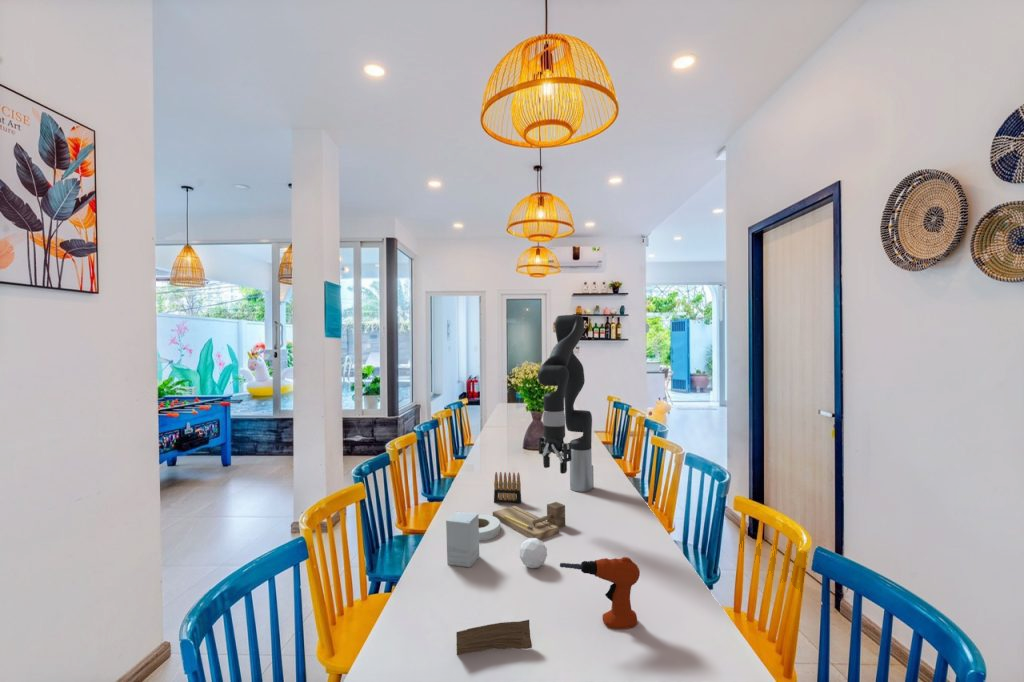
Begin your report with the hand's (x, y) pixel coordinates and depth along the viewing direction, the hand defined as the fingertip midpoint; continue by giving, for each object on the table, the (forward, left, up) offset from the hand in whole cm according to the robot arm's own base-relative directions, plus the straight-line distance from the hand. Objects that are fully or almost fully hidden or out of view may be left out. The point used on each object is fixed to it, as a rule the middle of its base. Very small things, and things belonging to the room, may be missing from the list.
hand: (554, 470), depth 156 cm
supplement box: (+38, +3, -19) cm, 43 cm away
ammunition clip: (+1, -27, -19) cm, 33 cm away
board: (+9, -6, -19) cm, 22 cm away
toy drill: (+28, +47, -19) cm, 58 cm away
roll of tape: (+24, -12, -19) cm, 33 cm away
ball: (+24, +18, -19) cm, 35 cm away
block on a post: (+4, +1, -19) cm, 19 cm away
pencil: (+13, -5, -17) cm, 22 cm away
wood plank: (+52, +40, -19) cm, 68 cm away
